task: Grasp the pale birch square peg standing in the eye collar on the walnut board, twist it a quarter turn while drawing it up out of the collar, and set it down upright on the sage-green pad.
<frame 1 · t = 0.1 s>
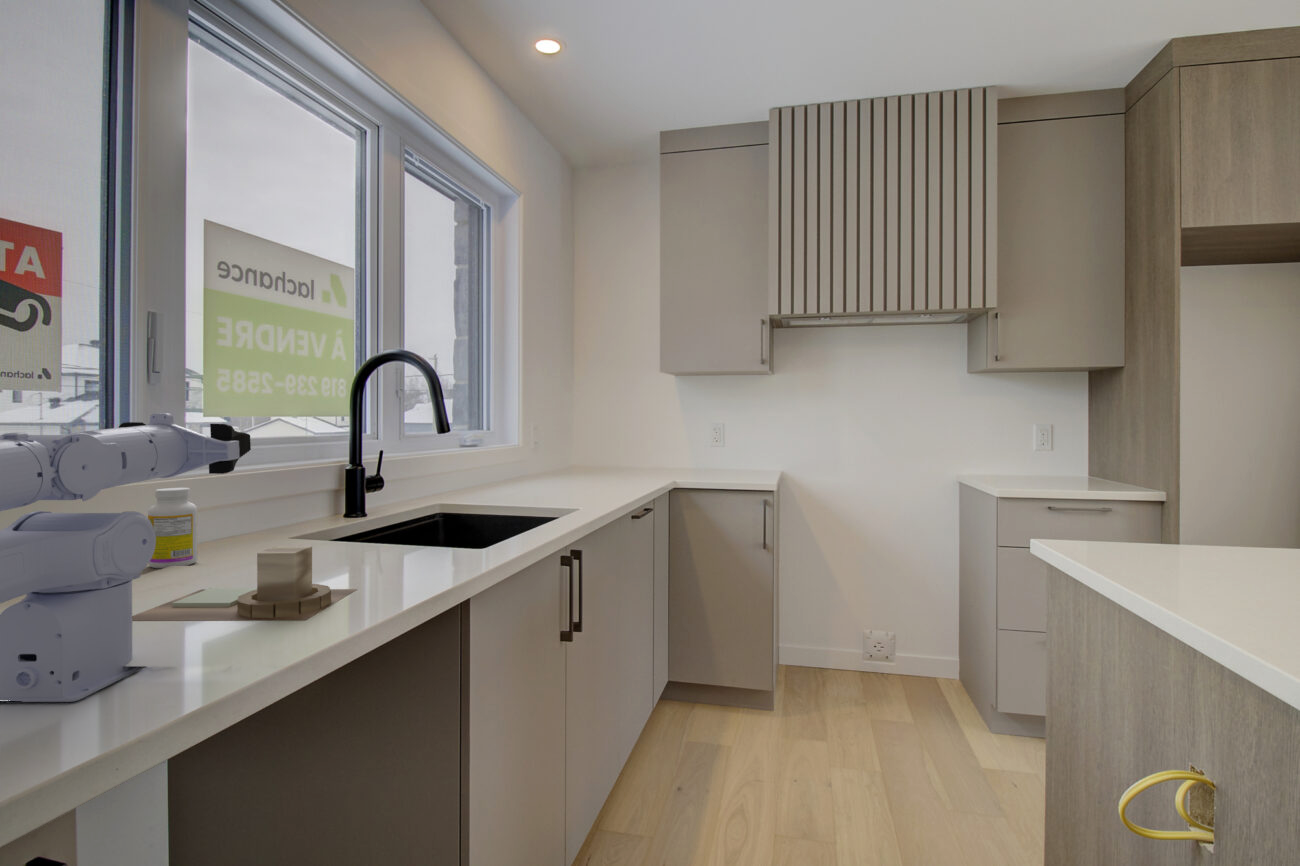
hand: (215, 441, 79), 22 cm above the counter, tool horizontal, fingers open, 7 cm apart
supplement bottle: (173, 566, 108), on the counter
base board: (249, 612, 81), on the counter
peg: (285, 605, 80), point 1 cm above the counter, touching base board
sage pad: (219, 599, 83), resting on base board
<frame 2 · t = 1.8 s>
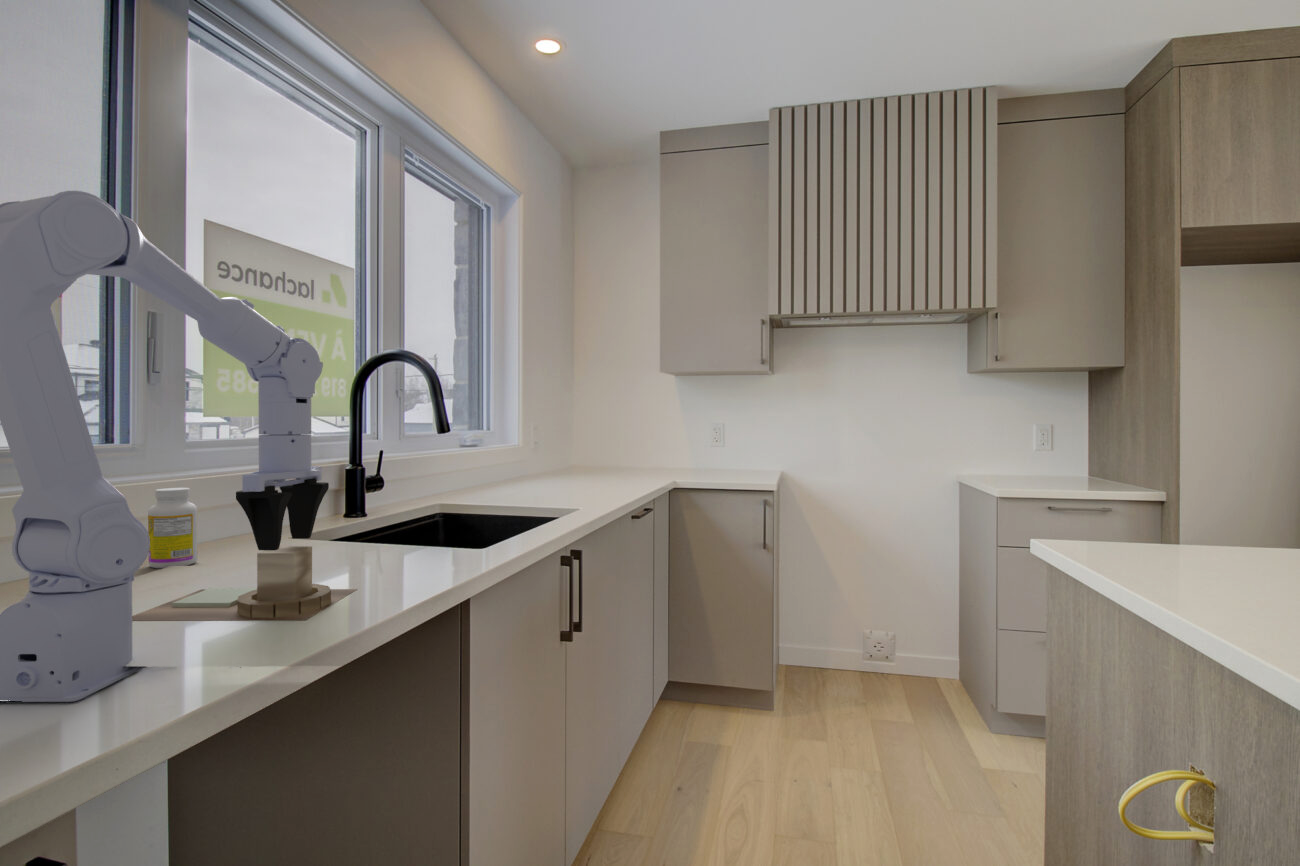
hand: (285, 543, 80), 9 cm above the counter, tool pointing down, fingers open, 7 cm apart
nothing on the counter moved.
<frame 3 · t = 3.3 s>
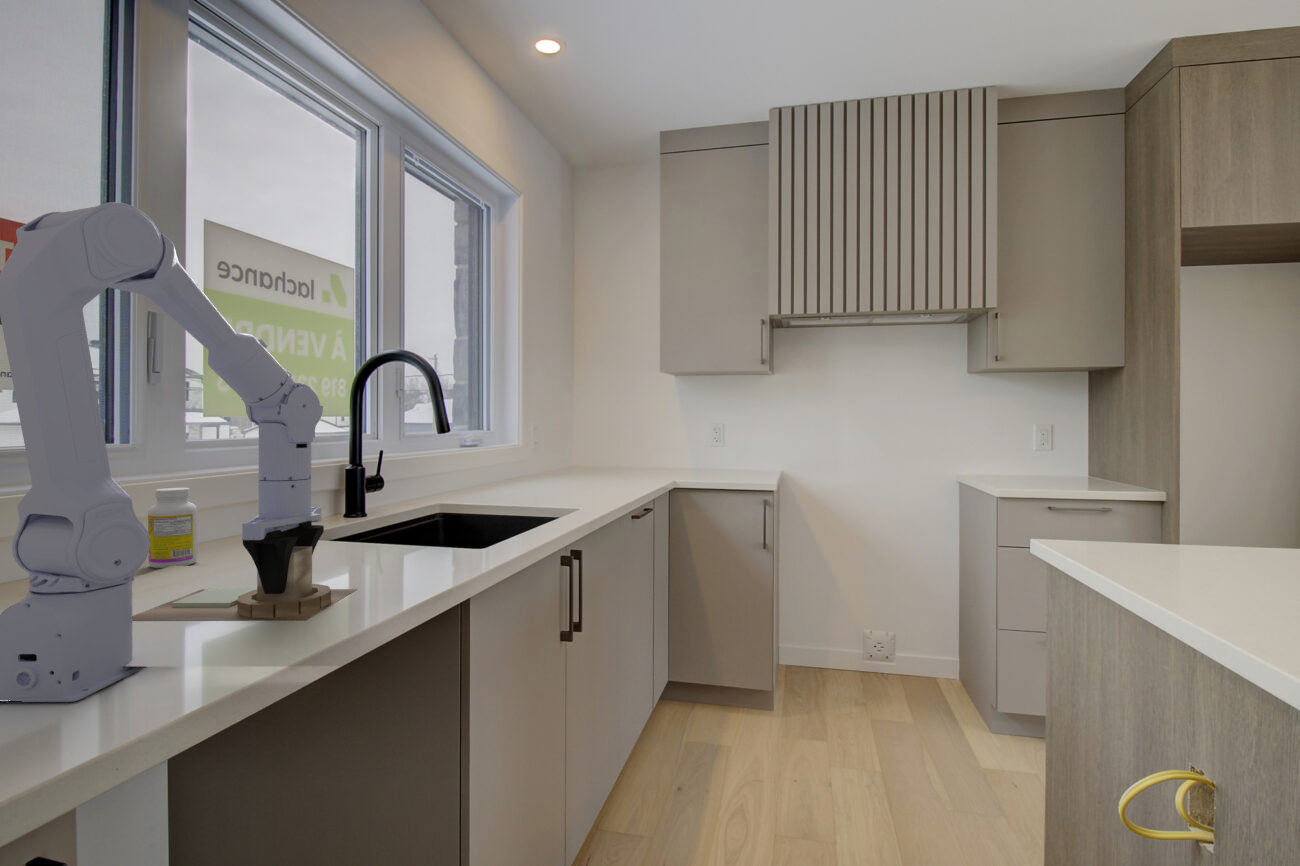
hand: (285, 588, 80), 3 cm above the counter, tool pointing down, fingers closed on peg, 4 cm apart
peg: (285, 605, 80), point 1 cm above the counter, touching base board, gripper
everything else where it was.
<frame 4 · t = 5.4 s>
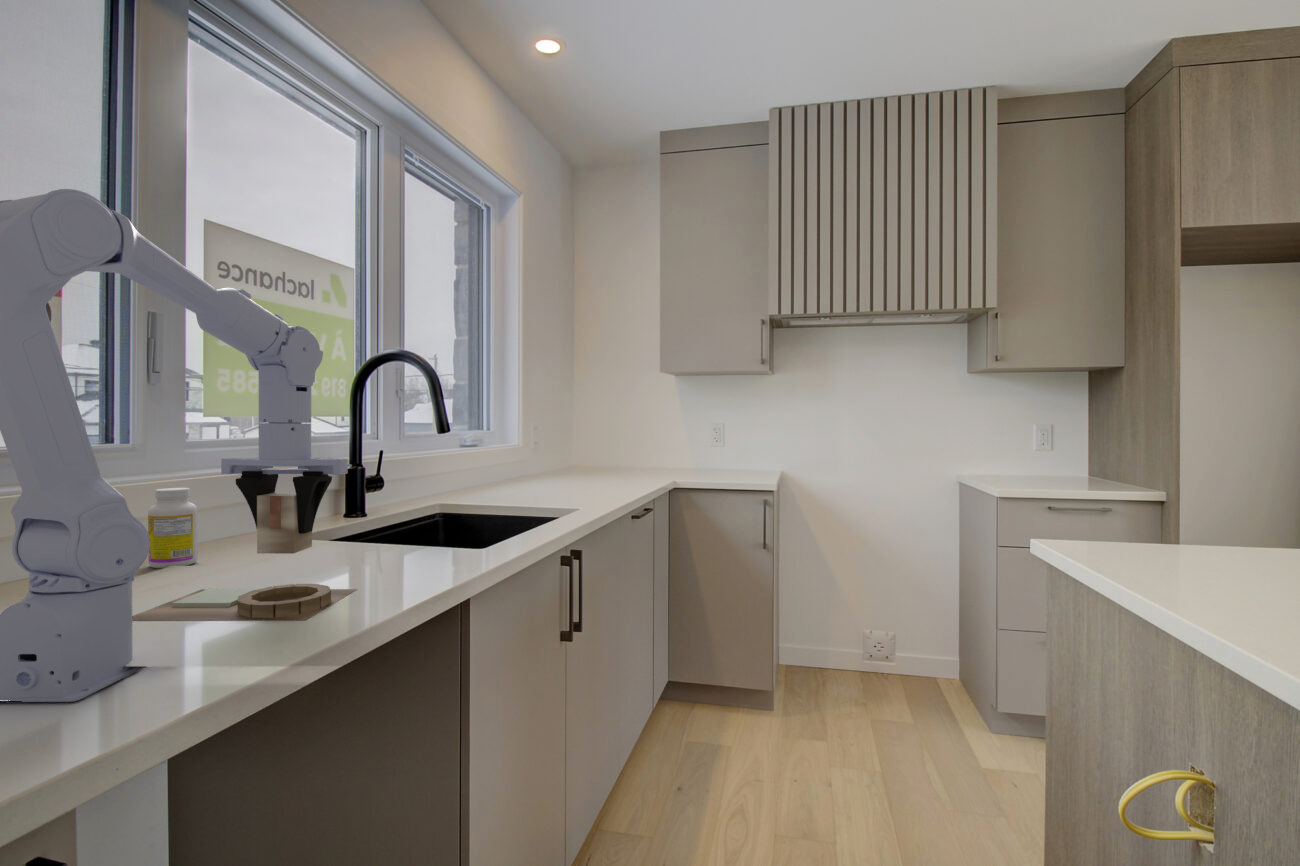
hand: (285, 532, 80), 10 cm above the counter, tool pointing down, fingers closed on peg, 4 cm apart
peg: (285, 549, 80), point 8 cm above the counter, touching gripper
everything else where it was.
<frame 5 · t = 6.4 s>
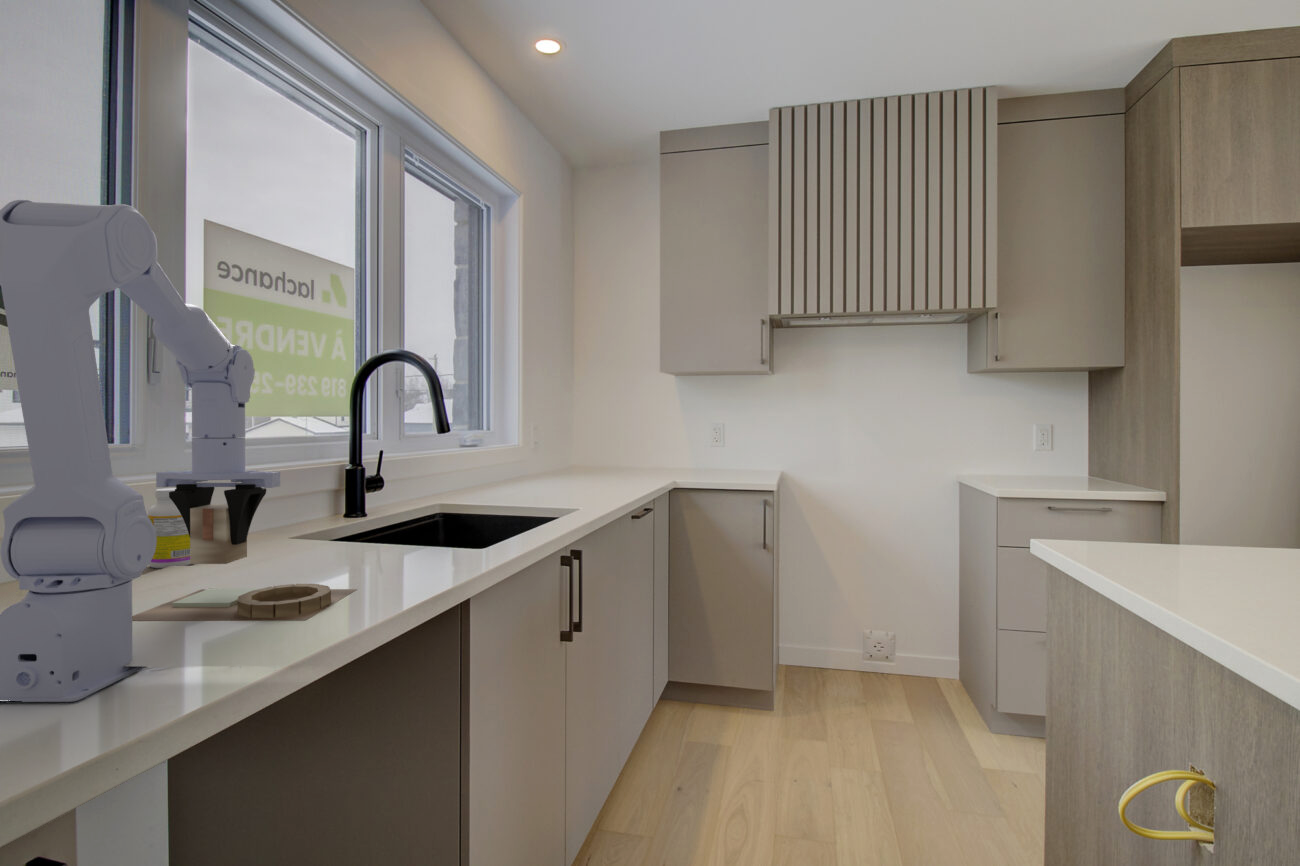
hand: (219, 543, 83), 8 cm above the counter, tool pointing down, fingers closed on peg, 4 cm apart
peg: (219, 560, 83), point 6 cm above the counter, touching gripper
everything else where it was.
when the fingers open (5 cm above the counter, at t = 7.4 s): peg drops 1 cm, resting on sage pad.
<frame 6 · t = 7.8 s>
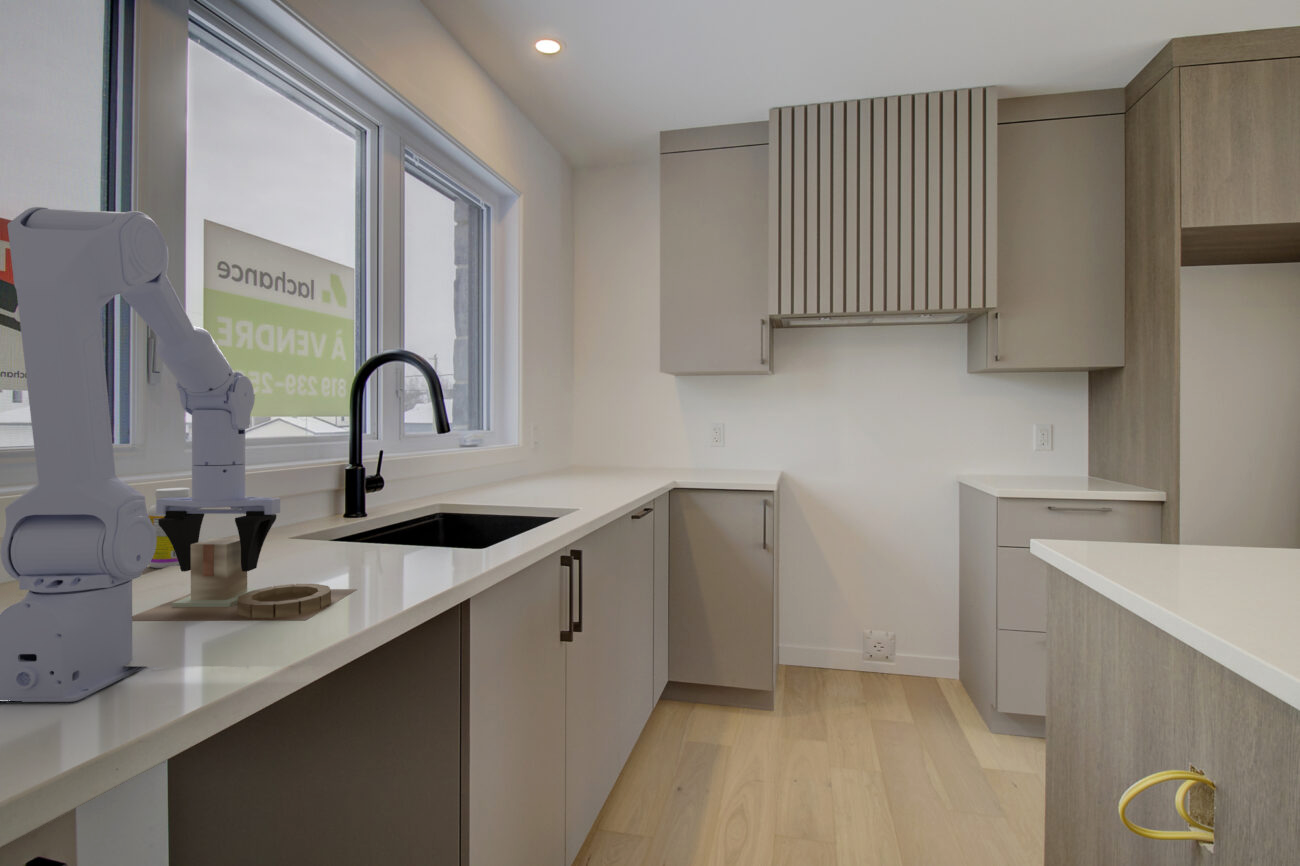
hand: (219, 569, 83), 5 cm above the counter, tool pointing down, fingers open, 7 cm apart
peg: (219, 595, 83), point 2 cm above the counter, touching sage pad
everything else where it was.
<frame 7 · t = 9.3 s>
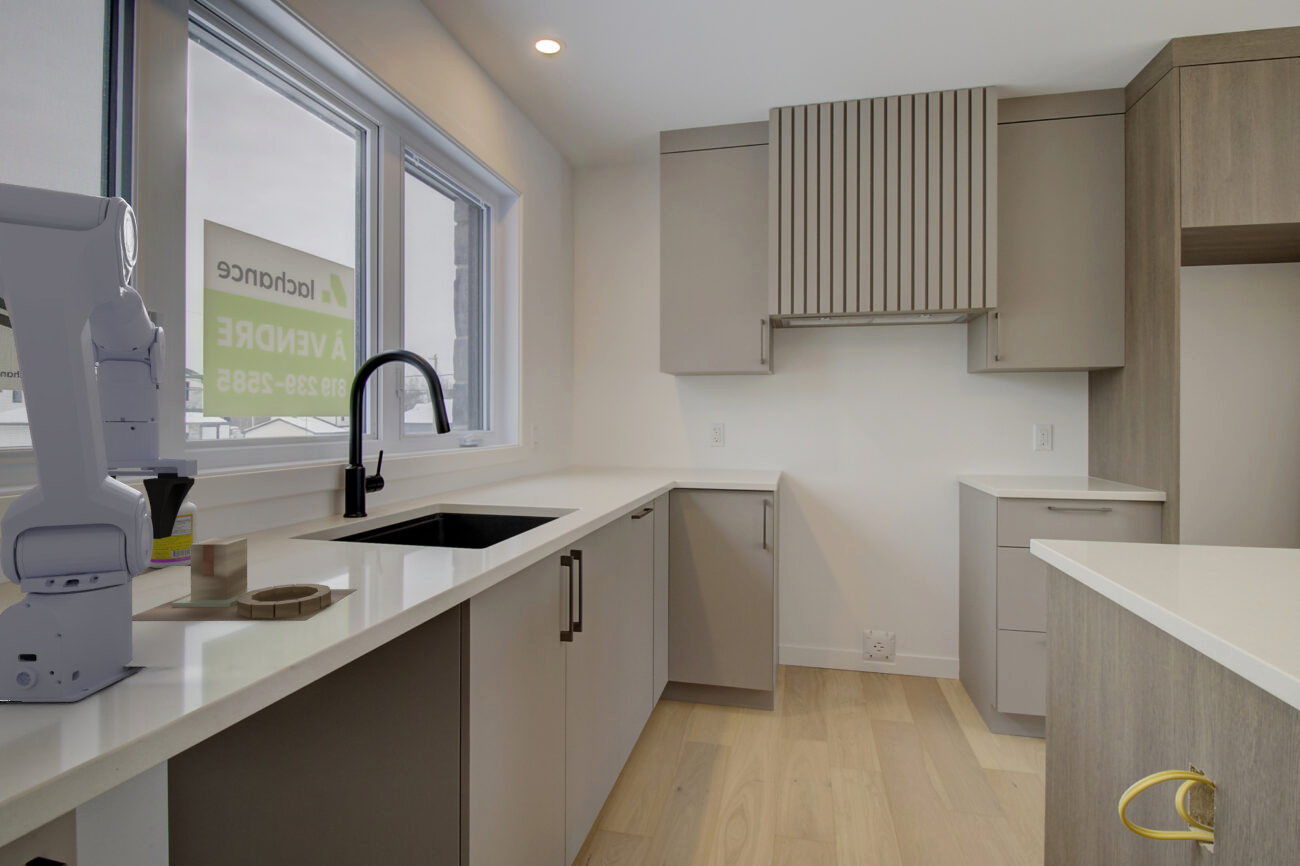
hand: (129, 537, 75), 10 cm above the counter, tool pointing down, fingers open, 7 cm apart
nothing on the counter moved.
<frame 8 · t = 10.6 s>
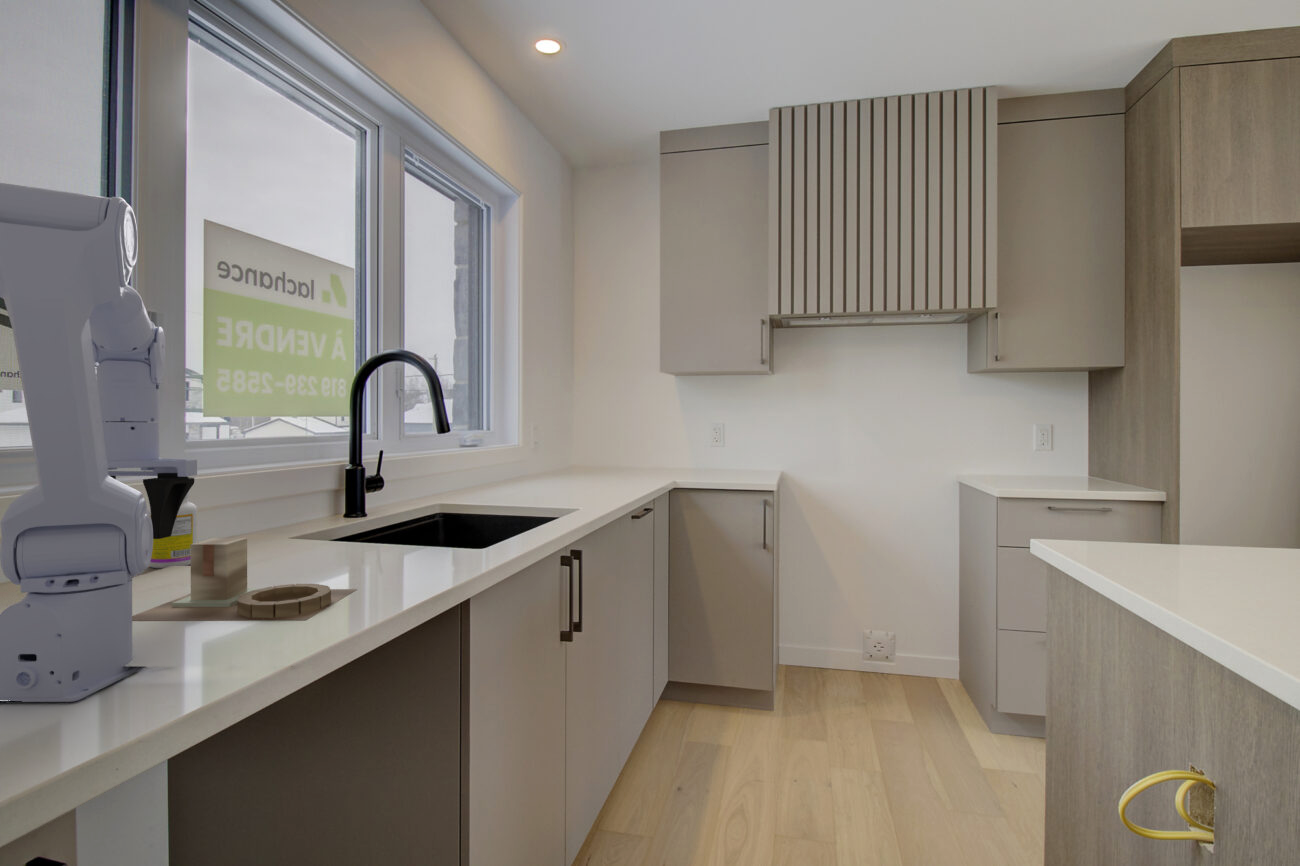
hand: (129, 537, 75), 10 cm above the counter, tool pointing down, fingers open, 7 cm apart
nothing on the counter moved.
at the end: peg 0.1 cm from the target spot, point 1.7 cm above the counter; peg tilted 0°; the gripper is holding nothing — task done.
